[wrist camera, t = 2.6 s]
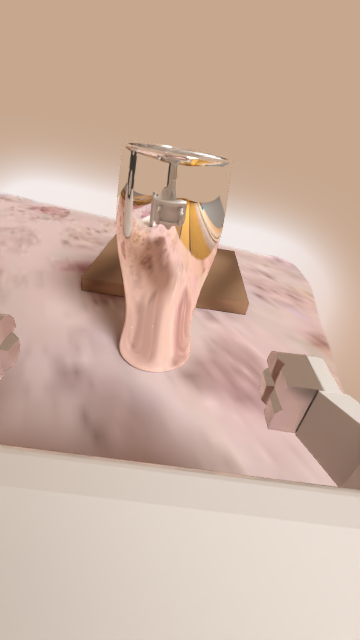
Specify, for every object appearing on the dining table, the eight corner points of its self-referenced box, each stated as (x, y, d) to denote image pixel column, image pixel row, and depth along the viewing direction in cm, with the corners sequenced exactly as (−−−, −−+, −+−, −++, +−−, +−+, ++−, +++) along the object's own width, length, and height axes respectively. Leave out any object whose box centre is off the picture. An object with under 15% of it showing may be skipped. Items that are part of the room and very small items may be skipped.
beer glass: (121, 321, 28) (128, 138, 20) (193, 330, 29) (229, 154, 20) (105, 371, 22) (105, 142, 14) (195, 381, 23) (246, 165, 15)
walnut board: (81, 290, 32) (81, 277, 31) (116, 242, 45) (117, 232, 44) (245, 314, 32) (249, 302, 32) (231, 260, 46) (234, 251, 45)
